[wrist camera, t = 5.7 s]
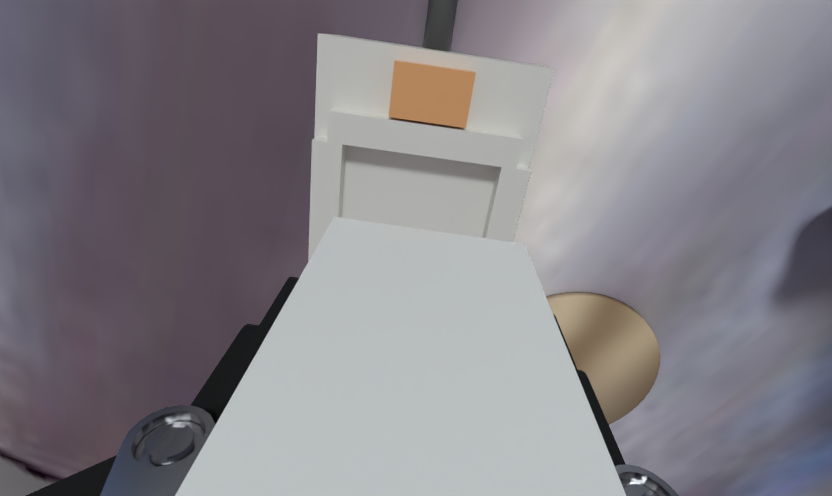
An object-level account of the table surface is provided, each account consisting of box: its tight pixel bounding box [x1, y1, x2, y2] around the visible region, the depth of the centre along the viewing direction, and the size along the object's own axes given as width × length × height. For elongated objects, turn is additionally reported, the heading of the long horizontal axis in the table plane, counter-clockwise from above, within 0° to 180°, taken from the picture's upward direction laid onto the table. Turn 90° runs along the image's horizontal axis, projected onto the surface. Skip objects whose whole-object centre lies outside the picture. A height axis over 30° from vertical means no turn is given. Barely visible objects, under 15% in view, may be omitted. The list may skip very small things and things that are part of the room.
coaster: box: [546, 292, 660, 425], centre depth 27 cm, size 11×11×1 cm
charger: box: [175, 217, 626, 496], centre depth 9 cm, size 5×5×8 cm
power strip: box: [308, 0, 554, 262], centre depth 21 cm, size 34×9×5 cm, turn 172°
